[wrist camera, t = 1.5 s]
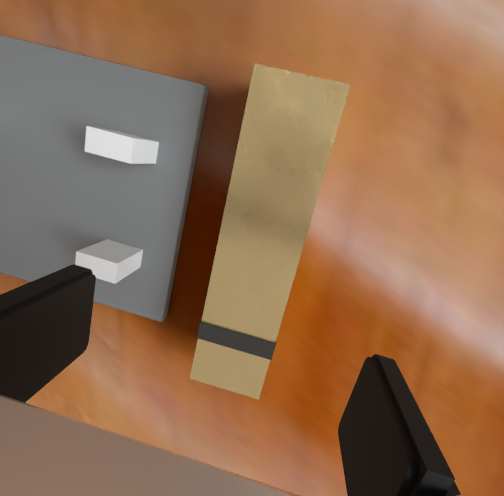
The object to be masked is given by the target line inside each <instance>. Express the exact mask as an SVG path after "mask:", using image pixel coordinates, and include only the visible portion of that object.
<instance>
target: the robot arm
mask: <svg viewBox="0 0 504 496" xmlns="http://www.w3.org/2000/svg"><path fill="white" fill-rule="evenodd" d="M95 283H96V277H95V275H94V274H93V273H92V270H91V269H88V268H85V267H82V266H78V265H75V264H73V265H70V266H67V267H65V268H63V269H60V270H58V271H56V272H53V273H51V274H49V275H46V276H44V277H41V278H39V279H37V280H34V281H32V282H30V283H27V284H25V285H23V286H20V287H18V288H15V289H13V290H11V291H8V292H6V293H4V294H1V295H0V496H300V495H297V494H294V493H291V492H288V491H285V490H282V489H279V488H277V487H274V486H271V485H268V484H265V483H262V482H259V481H256V480H253V479H250V478H247V477H245V476H242V475H239V474H236V473H233V472H230V471H227V470H224V469H221V468H218V467H215V466H213V465H210V464H207V463H204V462H201V461H198V460H195V459H192V458H189V457H186V456H183V455H180V454H177V453H174V452H171V451H168V450H165V449H162V448H159V447H156V446H153V445H150V444H148V443H145V442H142V441H139V440H136V439H133V438H130V437H127V436H124V435H121V434H118V433H115V432H112V431H109V430H106V429H103V428H100V427H97V426H94V425H91V424H88V423H85V422H82V421H79V420H76V419H73V418H70V417H67V416H64V415H61V414H57V413H54V412H51V411H48V410H45V409H42V408H39V407H36V406H33V405H30V404H27V403H25V402H26V401H27V400H29V399H30V398H31V397H32V396H33V395H34V394H36V393H37V392H38V391H39V390H40V389H41V388H43V387H44V386H45V385H46V384H47V383H48V382H50V381H51V380H52V379H53V378H54V377H55V376H57V375H58V374H59V373H60V372H61V371H62V370H64V369H65V368H66V367H67V366H68V365H69V364H71V363H72V362H73V361H74V360H75V359H76V358H78V357H79V356H80V355H81V354H82V353H83V352H84V351H85V350H86V348H87V345H88V342H89V334H90V325H91V317H92V308H93V300H94V291H95ZM338 436H339V442H340V449H341V455H342V462H343V468H344V475H345V481H346V488H347V494H348V496H468V495H461V494H460V492H459V490H458V488H457V486H456V484H455V482H454V480H455V478H454V476H453V474H452V472H451V470H450V468H449V466H448V464H447V462H446V460H445V458H444V456H443V454H442V452H441V450H440V448H439V447H438V445H437V443H436V441H435V439H434V437H433V435H432V433H431V431H430V429H429V427H428V425H427V423H426V421H425V419H424V417H423V415H422V413H421V411H420V409H419V407H418V405H417V403H416V401H415V399H414V397H413V395H412V393H411V391H410V389H409V387H408V386H407V384H406V382H405V380H404V378H403V376H402V374H401V372H400V370H399V368H398V366H397V364H396V362H395V361H394V360H393V359H390V358H387V357H384V356H380V355H377V354H375V355H373V356H372V358H371V357H367V358H366V360H365V362H364V364H363V367H362V369H361V371H360V374H359V376H358V379H357V381H356V384H355V386H354V389H353V391H352V394H351V396H350V398H349V401H348V403H347V406H346V408H345V411H344V413H343V416H342V418H341V421H340V424H339V429H338Z"/></svg>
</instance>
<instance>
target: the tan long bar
mask: <svg viewBox="0 0 504 496" xmlns="http://www.w3.org/2000/svg"><path fill="white" fill-rule="evenodd" d="M349 88H350V84H346V83H342V82H337V81H333V80H328V79H323V78H319V77H314V76H310V75H305V74H301V73H296V72H291V71H287V70H282V69H278V68H273V67H268V66H264V65H259V64H255V63H254V68H253V73H252V78H251V82H250V87H249V92H248V97H247V102H246V107H245V112H244V117H243V121H242V126H241V131H240V136H239V141H238V146H237V151H236V155H235V160H234V165H233V170H232V175H231V180H230V185H229V190H228V194H227V199H226V204H225V209H224V214H223V219H222V224H221V228H220V233H219V238H218V243H217V248H216V253H215V258H214V263H213V267H212V272H211V277H210V282H209V287H208V292H207V297H206V301H205V306H204V311H203V316H202V320H201V322H200V325H199V330H198V334H197V338H198V340H197V345H196V350H195V355H194V360H193V365H192V370H191V374H190V379H193V380H196V381H200V382H203V383H206V384H210V385H213V386H216V387H219V388H223V389H226V390H229V391H232V392H236V393H239V394H242V395H245V396H249V397H252V398H255V399H259V397H260V393H261V390H262V386H263V383H264V379H265V376H266V373H267V369H268V366H269V362H270V360H271V359H272V355H273V352H274V349H275V345H276V339H277V335H278V331H279V328H280V325H281V321H282V318H283V314H284V311H285V307H286V304H287V301H288V297H289V294H290V290H291V287H292V283H293V280H294V277H295V273H296V270H297V266H298V263H299V259H300V256H301V252H302V249H303V246H304V242H305V239H306V235H307V232H308V228H309V225H310V222H311V218H312V215H313V211H314V208H315V204H316V201H317V198H318V194H319V191H320V187H321V184H322V180H323V177H324V174H325V170H326V167H327V163H328V160H329V156H330V153H331V150H332V146H333V143H334V139H335V136H336V132H337V129H338V126H339V122H340V119H341V115H342V112H343V108H344V105H345V101H346V98H347V95H348V91H349Z"/></svg>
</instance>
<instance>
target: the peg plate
mask: <svg viewBox="0 0 504 496" xmlns="http://www.w3.org/2000/svg"><path fill="white" fill-rule="evenodd" d="M208 93H209V88H208V87H207V86H205V85H202V84H198V83H194V82H190V81H186V80H182V79H178V78H174V77H170V76H165V75H161V74H157V73H153V72H149V71H145V70H141V69H137V68H133V67H129V66H125V65H121V64H116V63H112V62H108V61H104V60H100V59H96V58H92V57H88V56H84V55H80V54H76V53H71V52H67V51H63V50H59V49H55V48H51V47H47V46H43V45H39V44H35V43H31V42H26V41H22V40H18V39H14V38H10V37H6V36H2V35H0V273H3V274H7V275H10V276H13V277H16V278H20V279H23V280H26V281H29V282H32V281H34V280H37V279H39V278H41V277H44V276H46V275H49V274H51V273H53V272H56V271H58V270H60V269H63V268H65V267H67V266H70V265H73V264H75V265H78V266H82V267H85V268H88V269H91V270H92V273H93V274H94V275H95V277H96V283H95V291H94V300H93V301H94V302H97V303H101V304H104V305H107V306H110V307H114V308H117V309H120V310H123V311H127V312H130V313H133V314H136V315H140V316H143V317H146V318H149V319H153V320H156V321H159V322H163V321H164V319H165V318H166V317H167V314H168V308H169V303H170V297H171V292H172V287H173V281H174V276H175V270H176V265H177V260H178V254H179V249H180V244H181V238H182V233H183V227H184V222H185V217H186V211H187V206H188V200H189V195H190V190H191V184H192V179H193V173H194V168H195V163H196V157H197V152H198V146H199V141H200V136H201V130H202V125H203V119H204V114H205V109H206V103H207V98H208Z"/></svg>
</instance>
